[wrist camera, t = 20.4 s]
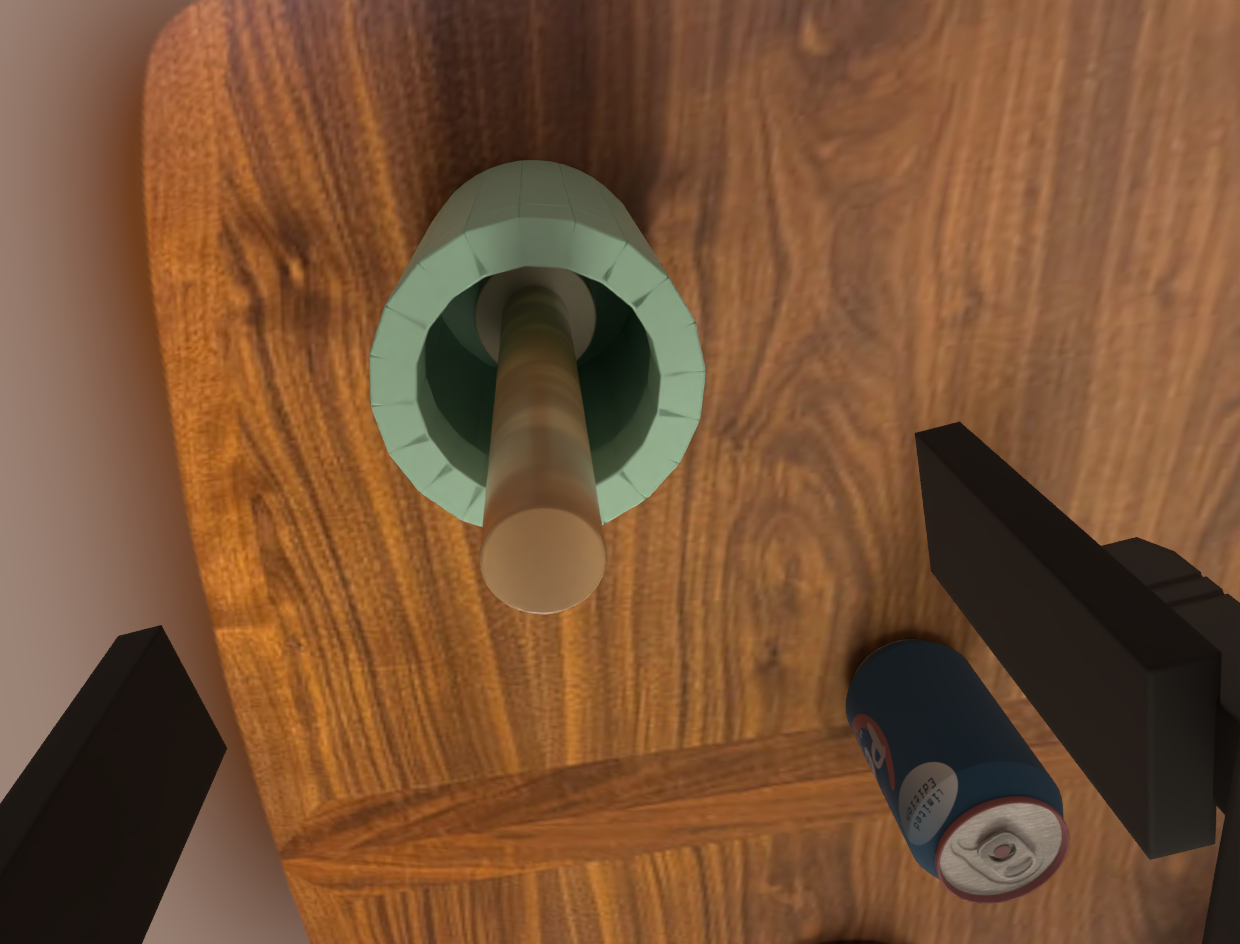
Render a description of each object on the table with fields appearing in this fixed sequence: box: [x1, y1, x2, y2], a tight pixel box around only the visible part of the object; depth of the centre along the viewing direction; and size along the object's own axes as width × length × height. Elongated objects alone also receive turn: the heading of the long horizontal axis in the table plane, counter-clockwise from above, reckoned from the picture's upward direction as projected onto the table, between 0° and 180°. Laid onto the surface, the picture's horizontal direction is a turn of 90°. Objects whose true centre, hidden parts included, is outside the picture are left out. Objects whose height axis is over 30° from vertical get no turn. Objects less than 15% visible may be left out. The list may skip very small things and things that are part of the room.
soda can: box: [846, 639, 1070, 904], centre depth 46 cm, size 7×7×12 cm
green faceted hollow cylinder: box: [369, 160, 706, 527], centre depth 34 cm, size 9×9×15 cm
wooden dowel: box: [474, 266, 607, 615], centre depth 29 cm, size 4×4×24 cm
